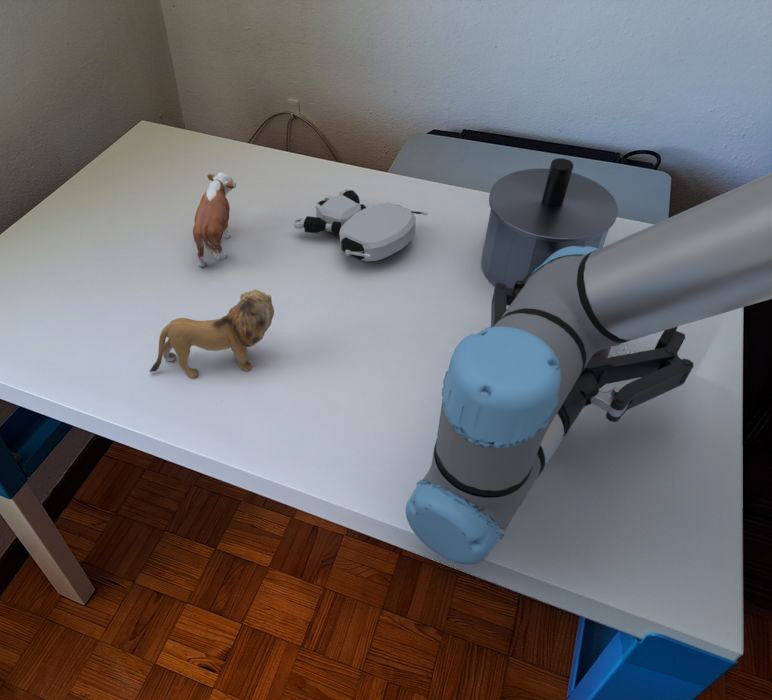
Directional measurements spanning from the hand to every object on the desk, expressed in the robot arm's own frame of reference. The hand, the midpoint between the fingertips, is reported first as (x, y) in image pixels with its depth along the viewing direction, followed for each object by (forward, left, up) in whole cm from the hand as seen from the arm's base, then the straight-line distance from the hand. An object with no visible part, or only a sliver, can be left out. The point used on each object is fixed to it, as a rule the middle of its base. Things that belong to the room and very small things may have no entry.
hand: (614, 289), depth 73 cm
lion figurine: (+33, +28, -8) cm, 44 cm away
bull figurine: (+48, +12, -8) cm, 50 cm away
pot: (+11, -8, -7) cm, 15 cm away
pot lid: (+11, -8, +2) cm, 14 cm away
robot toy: (+33, 0, -8) cm, 34 cm away
